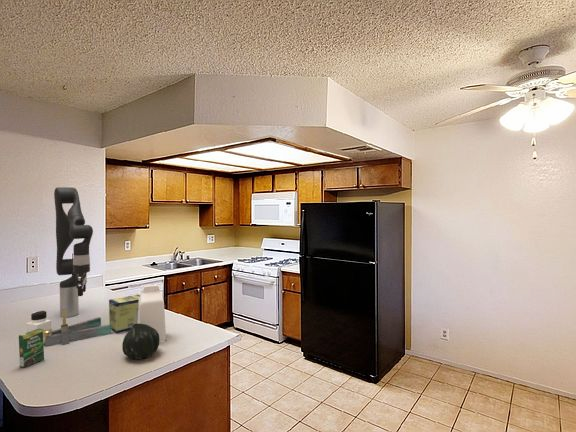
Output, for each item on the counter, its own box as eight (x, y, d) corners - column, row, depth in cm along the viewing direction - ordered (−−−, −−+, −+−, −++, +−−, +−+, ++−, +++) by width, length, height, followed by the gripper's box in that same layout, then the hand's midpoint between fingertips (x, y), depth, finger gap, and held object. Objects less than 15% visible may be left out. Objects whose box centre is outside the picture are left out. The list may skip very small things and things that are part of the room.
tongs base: (41, 340, 160) (40, 328, 160) (108, 328, 177) (108, 316, 177) (40, 349, 151) (40, 335, 150) (112, 335, 167) (112, 322, 167)
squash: (170, 335, 152) (147, 311, 151) (158, 351, 137) (133, 324, 136) (147, 356, 152) (124, 332, 151) (133, 374, 138) (107, 347, 137)
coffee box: (23, 368, 133) (22, 335, 132) (18, 367, 134) (18, 334, 133) (44, 359, 140) (44, 328, 140) (40, 358, 141) (39, 327, 141)
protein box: (108, 329, 176) (108, 299, 176) (138, 321, 187) (138, 293, 187) (116, 334, 169) (116, 303, 168) (147, 326, 180) (146, 297, 180)
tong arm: (49, 339, 160) (49, 331, 160) (98, 324, 181) (98, 317, 181) (51, 340, 159) (51, 332, 159) (101, 325, 180) (100, 317, 180)
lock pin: (62, 328, 164) (61, 309, 164) (66, 327, 165) (66, 308, 165) (62, 329, 163) (61, 310, 162) (66, 328, 164) (66, 309, 163)
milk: (138, 346, 154) (138, 289, 154) (137, 337, 165) (136, 284, 164) (166, 341, 160) (165, 287, 159) (163, 333, 170) (162, 282, 169)
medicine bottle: (51, 334, 169) (51, 310, 168) (36, 339, 162) (36, 314, 162) (41, 332, 171) (41, 308, 171) (26, 337, 164) (26, 313, 164)
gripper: (75, 261, 181) (76, 291, 181) (70, 266, 168) (70, 298, 168) (91, 260, 184) (92, 289, 184) (87, 265, 171) (88, 296, 171)
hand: (81, 293), depth 176 cm, fingers open, 8 cm apart
